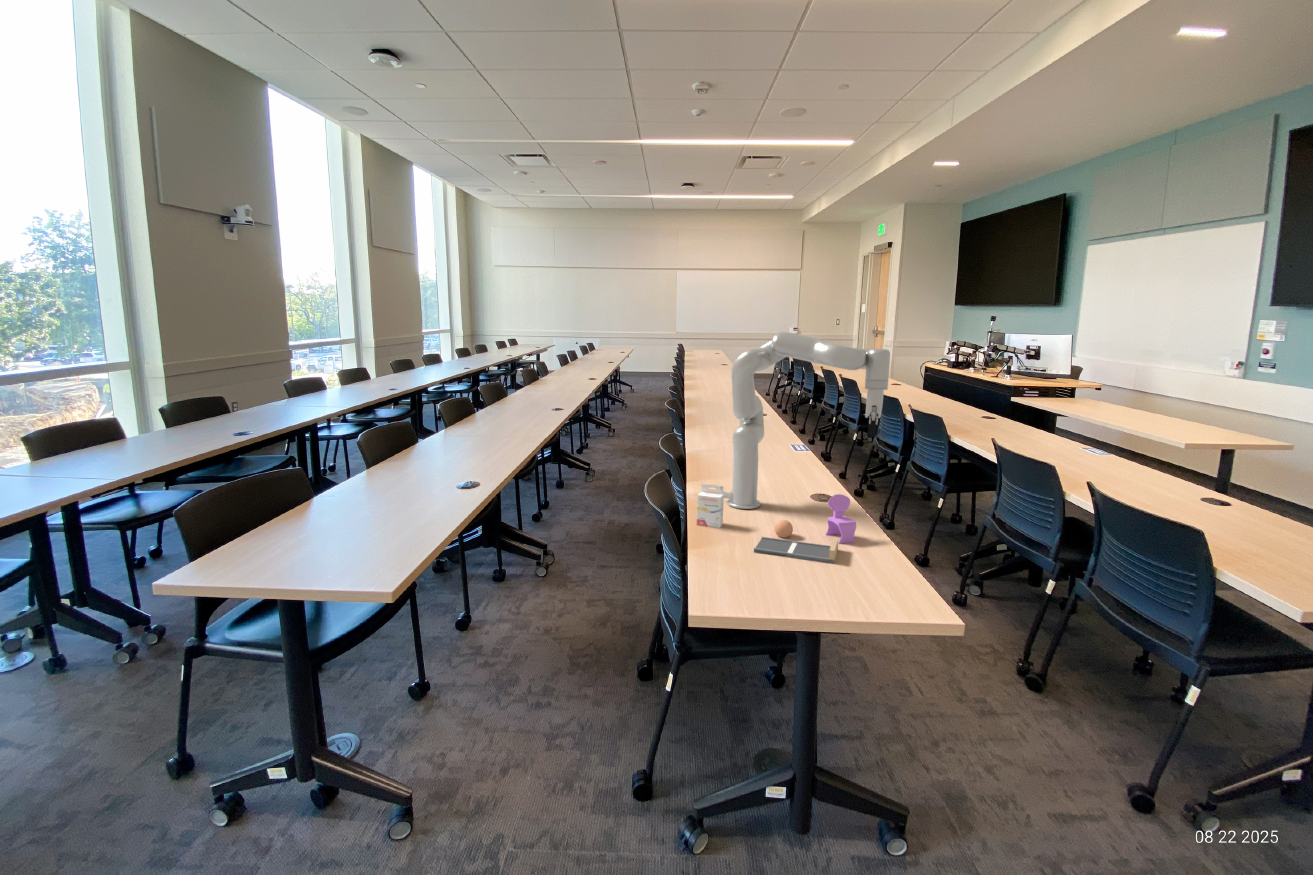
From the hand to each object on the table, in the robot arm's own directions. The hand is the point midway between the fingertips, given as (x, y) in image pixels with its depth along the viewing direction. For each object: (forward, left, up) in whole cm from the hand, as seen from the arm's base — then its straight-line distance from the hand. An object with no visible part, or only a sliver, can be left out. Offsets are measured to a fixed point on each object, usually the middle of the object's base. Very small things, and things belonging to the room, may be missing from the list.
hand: (872, 433), depth 210 cm
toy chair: (-7, -23, -33) cm, 41 cm away
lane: (-19, -39, -33) cm, 54 cm away
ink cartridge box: (-51, -26, -33) cm, 66 cm away
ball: (-25, -27, -33) cm, 50 cm away
